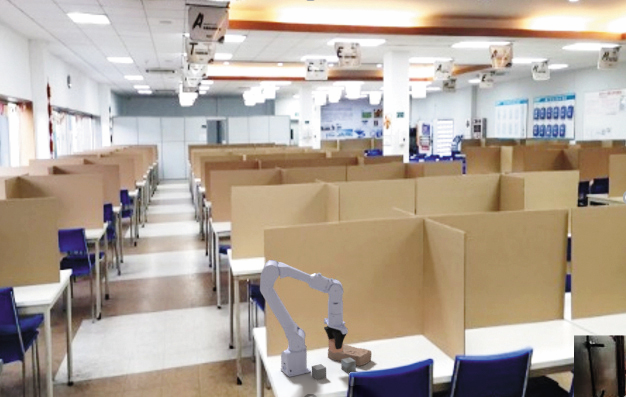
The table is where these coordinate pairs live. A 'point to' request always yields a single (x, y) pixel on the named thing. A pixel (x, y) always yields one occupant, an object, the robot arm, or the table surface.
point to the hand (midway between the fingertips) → (335, 346)
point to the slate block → (348, 365)
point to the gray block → (318, 372)
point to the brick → (352, 354)
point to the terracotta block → (332, 346)
